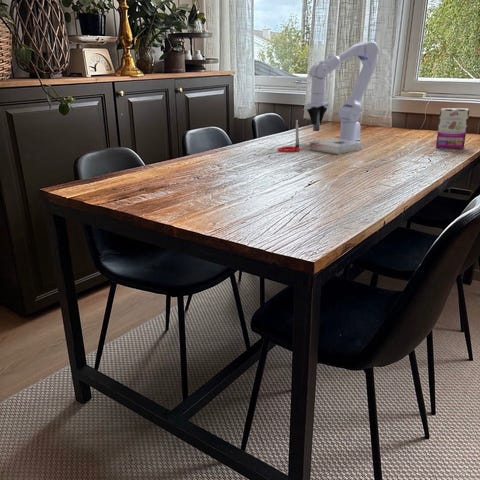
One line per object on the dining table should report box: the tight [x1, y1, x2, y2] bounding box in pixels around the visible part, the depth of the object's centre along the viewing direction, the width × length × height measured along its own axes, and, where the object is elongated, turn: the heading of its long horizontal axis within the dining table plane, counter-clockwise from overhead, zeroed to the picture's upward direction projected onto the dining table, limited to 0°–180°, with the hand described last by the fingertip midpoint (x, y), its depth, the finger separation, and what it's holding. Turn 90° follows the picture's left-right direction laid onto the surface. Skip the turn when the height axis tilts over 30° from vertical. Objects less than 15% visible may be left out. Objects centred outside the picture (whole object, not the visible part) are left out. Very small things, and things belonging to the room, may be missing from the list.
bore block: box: [309, 137, 363, 155], centre depth 203 cm, size 16×16×3 cm
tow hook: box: [277, 119, 300, 153], centre depth 201 cm, size 8×13×9 cm
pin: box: [312, 110, 321, 132], centre depth 213 cm, size 3×3×9 cm
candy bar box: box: [435, 107, 470, 150], centre depth 199 cm, size 11×5×16 cm, turn 68°
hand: (316, 124), depth 213 cm, fingers closed on pin, 3 cm apart
